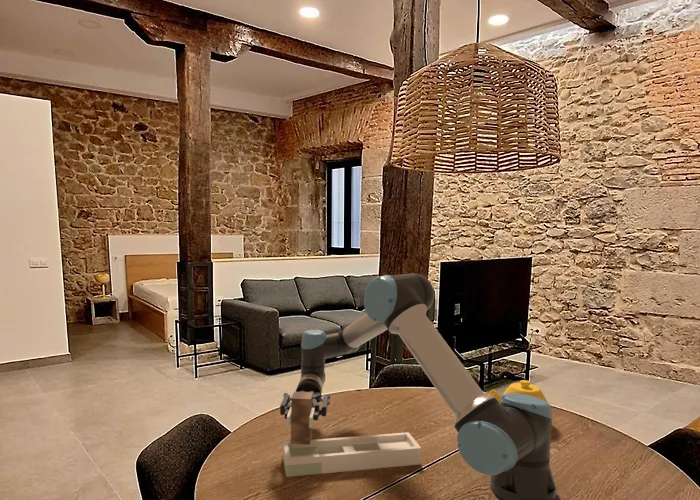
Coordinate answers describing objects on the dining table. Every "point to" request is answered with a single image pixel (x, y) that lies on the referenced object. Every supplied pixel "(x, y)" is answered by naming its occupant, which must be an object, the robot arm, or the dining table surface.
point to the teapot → (521, 390)
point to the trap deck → (351, 454)
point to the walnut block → (301, 417)
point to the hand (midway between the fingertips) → (299, 422)
